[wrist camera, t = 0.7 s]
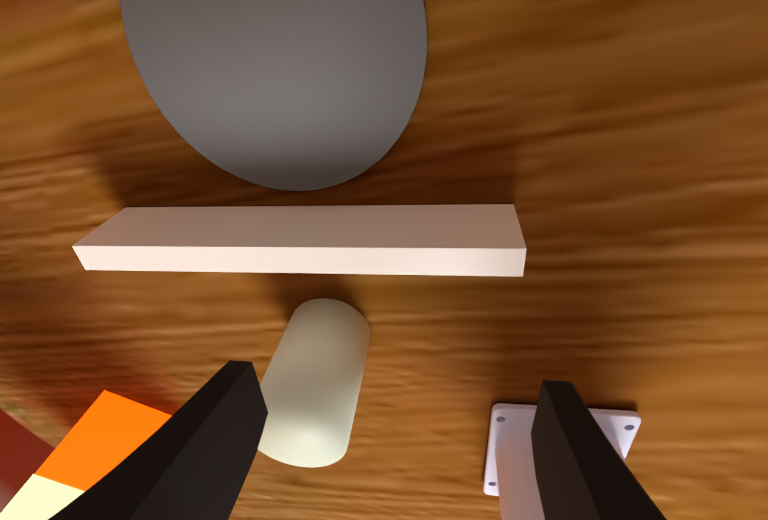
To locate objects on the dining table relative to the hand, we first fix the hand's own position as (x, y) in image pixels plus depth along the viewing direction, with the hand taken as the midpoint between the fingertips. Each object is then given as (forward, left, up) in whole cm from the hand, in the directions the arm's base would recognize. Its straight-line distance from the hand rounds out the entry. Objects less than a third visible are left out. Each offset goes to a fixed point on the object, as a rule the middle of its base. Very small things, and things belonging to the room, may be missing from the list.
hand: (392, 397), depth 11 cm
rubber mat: (+7, +5, -10) cm, 13 cm away
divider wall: (0, +5, -10) cm, 11 cm away
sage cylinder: (-7, +5, -10) cm, 13 cm away
